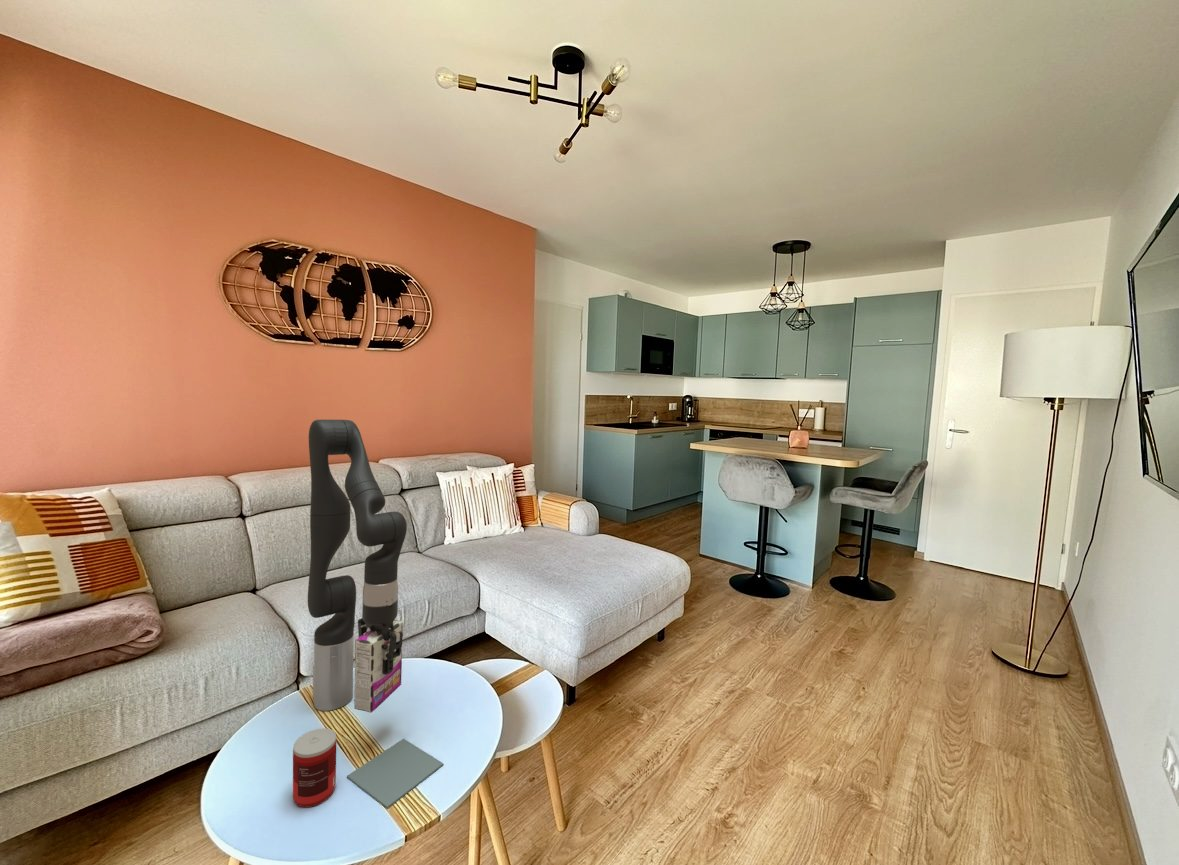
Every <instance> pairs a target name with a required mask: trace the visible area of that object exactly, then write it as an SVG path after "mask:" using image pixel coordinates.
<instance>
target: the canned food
mask: <svg viewBox="0 0 1179 865" xmlns="http://www.w3.org/2000/svg"><path fill="white" fill-rule="evenodd" d="M336 784H337V734H336V732H335V731H334V730H333V729H332V728H327V727H326V728H323V727H321V728H316V729H311V730H310V731H307V732H305V733H303V734H302V735H301V736H299V737H298V738H297V739H296V740H295V742H294V743H293V747H292V798H293V801H294V803H295V804H296V805H297V806H298V807H301V808H310V807H314V806H317V805H320V804H322V803H323V802H325V801H327V800H328V799H329V798H330V797H331V795H332V794H333V793H334V791H335V788H336Z"/></svg>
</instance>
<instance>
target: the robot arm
mask: <svg viewBox="0 0 1179 865" xmlns="http://www.w3.org/2000/svg"><path fill="white" fill-rule="evenodd" d="M308 451H309V452H308V454H309V465H310V467H309V468H310V482H311V484H310V485H311V486H310V490H311V492H310V511H309V512H310V513H309V515H310V516H309V526H310V527H309V530H310V531H309V533H310V535H309V536H310V564H309V574H308V575H309V576H308V587H307V588H308V589H307V607H308V608H307V609H308V612H309V614H310V616H311V617H312V618H315V619H318V618H323V617H328V616H331V618H329V619H328V620H326V621H325V622H323V623H322V624H320V625H319V626H318V627H317V628H316V629H315V630H314V634H313V636H314V637H313V640H314V641H313V644H314V645H313V647H314V648H313V649H314V650H313V651H314V652H313V659H314V660H313V662H314V663H313V667H312V668H313V671H312V700H313V707H314V709H316V710H318V711H323V712H325V711H327V712H328V711H335V710H337V709H340V708H342V707H344V706H345V705H348V704H349V703H350V702H351V701H352V700H353V698H354V697H353V696H354V634H355V633H354V631H355V630H354V629H355V624H356V623H355V620H356V619H355V618H356V606H357V605H356V603H357V587H356V582H355V579H354V578H353V577H352V576H351V575H350V574H349V575H348V574H347V575H340V576H336V577H330V578H327V575H328V570H329V566H330V564H331V562H332V560H333V559H334V556H335V555H336V553H337V552H338V550H339V549H340V548H341V546H342V544H343V543H344V542H345V540H346V538H347V536H348V534H349V532H350V529H351V506H352V508H353V512H354V518H355V526H356V527H355V528H356V537H357V540H358V542H359V543H361V544H362V545H363V546H366V547H369V548H370V547H376V546H380V545H382V546H381V548H380V549H378V550H377V551H375V552H372V553H370V555H367V557H366V558H365V560H364V571H363V572H364V575H363V576H364V577H363V578H364V579H363V580H364V581H363V587H362V588H363V589H362V610H361V611H362V613H361V614H362V615H361V618H359V619H357V627H358V631H357V632H358V638H359V637H361V636H362V635H363V634H365V633H366V632H372V631H374V634H375V635H376V636H379V635H382V636H383V639H384V640H385V641H387V640H389V641H390V642H389V643H388V644H386V645H383V644H382V646H381V649H382V650H383V672H382V673H383V674H384V675H387V674H389V673H391V672H392V671H393V659H394V658H395V657H397V656H400V655H401V647H402V648H403V637H404V633H403V630H402V631H400V632H396V631H395V630H394V625H393V621H394V620H396V618H397V617H398V614H399V613H398V609H399V608H398V607H399V583H398V566H399V565H398V562H399V558H400V555H401V552H402V548H403V544H404V542H405V540H406V539H405V538H406V535H407V530H408V523H407V520H406V518H405V516H404V515H403V514H402V513H401V512H399V511H388V512H381V511H382V510H383V509H384V507H385V506H386V498H385V495H384V493H383V492H382V489H381V487H380V486H379V484H378V482H377V480H376V478H375V476H374V474H373V470H372V468H371V465H370V462H369V457H368V454H367V451H366V447H365V444H364V441H363V438H362V435H361V431H360V429H359V428H358V426H357V423H355V422H354V421H353V420H348V419H315V420H313V421H312V422H311V424H310V425H309V429H308ZM335 455H336V456H339V455H347V456H348V457H349V459H350V462H351V463H350V466H349V469H348V471H347V473H346V476H345V480H344V489H345V492H346V493H345V492H344V490H343V489H342V488H341V486H339V484H338V483H337V481H336V480H335V478H334V476H333V475H332V472H331V469H330V464H329V456H335ZM379 512H381V513H379ZM388 647H389V652H388V653H387V650H386V648H388ZM395 649H396V651H395Z"/></svg>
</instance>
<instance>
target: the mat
mask: <svg viewBox="0 0 1179 865" xmlns="http://www.w3.org/2000/svg"><path fill="white" fill-rule="evenodd" d="M443 766H444V763H443V762H442V761H440V760H439V759H437V758H435V757H434V756H433V755H430V754H429V753H428V752H426V751H424V750H423V749H422V748H419V747H418V746H416V745H415V744H414V743H411V742H410V741H408V740H407V739H405V738H402V739H400V740H399V741H398V742H396V743H394V744H393V745H391V746H390V747H388V748H387V749H386V750H384V751H382V752H380V753H378V755H376V756H375V757H373V758H372V759H370V760H369V761H367V762H366V763H364V764H362V765H361V766H359V767H358V768H356V769H355V770H353V771H352V772H350V773H349V774H348V775H346V779H347V780H349V781H350V782H352V783H353V785H355V786H357V787H358V788H359V789H361V790H362V791H363V792H365V793H366V794H367V795H369V796H370V797H371V798H372V799H374V800H375V801H376V802H377V803H379V804H380V805H382V806H383V807H384V808H386V809H389V808H391V807H392V806H393V805H394V804H396V803H397V802H398V801H399V800H401V799H402V798H403V797H404V796H406V795H407V794H408V793H410V792H411V791H412V790H413V789H415V788H416V787H417V786H419V785H420V784H421V783H423V782H424V781H425V780H426V779H428V778H429V777H430V776H431V775H433V774H434V773H436V772H437V771H438V770H440V769H441V767H443Z"/></svg>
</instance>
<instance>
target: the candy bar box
mask: <svg viewBox="0 0 1179 865" xmlns="http://www.w3.org/2000/svg"><path fill="white" fill-rule="evenodd" d="M403 623H404V622H403V621H402V620H396V619H395V620H394V621H393V625H394V630H395V631H396V632H400V631H402V632H403V630H404V629H403ZM354 641H355V643H354V645H355V646H354V648H355V651H354V695H353V696H354V697H353V698H354V699H353V700H354V702H353V703H354V707H353V708H354V709H355V710H357V711H361V712H362V711H363V712H367V713H370V714H371V713H373V712H375V711H376V709H377V708H379V706H381V705H382V704H383V703H384V702H385V701H386V700H387V699H388V698H389V697H390V696H391V695H392V694H393V693H395V691H396V690H397V689H398V688H400V687H401V686H402V671H403V670H402V664H403V646H402V647H401V655H400V656H397V657H395V658H394V659H393V671H392V672H391V673H389V674H387V675H384V674H383V673H382V672H383V650H382V649H381V646H382V644H383V645H386V644H388V643H389V642H390V641H389V640H387V641H385V640H384V639H383V636H382V635H379V636H376V635H375V634H374V631H372V632H366V633H364V634H363V635H362V636H361V637H359V636H358V638H356V639H354ZM386 650H387V653H388V652H389V647H388V648H386ZM395 651H396V649H395Z"/></svg>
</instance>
